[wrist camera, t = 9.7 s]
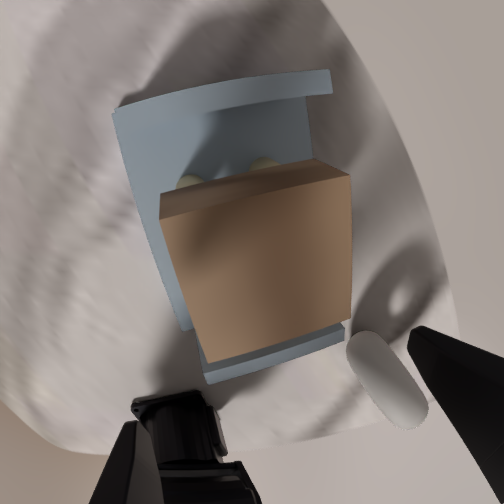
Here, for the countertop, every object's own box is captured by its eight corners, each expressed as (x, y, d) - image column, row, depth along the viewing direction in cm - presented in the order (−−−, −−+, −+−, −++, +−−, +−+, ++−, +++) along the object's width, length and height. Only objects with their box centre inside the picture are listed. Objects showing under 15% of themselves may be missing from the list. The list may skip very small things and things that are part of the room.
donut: (321, 329, 25) (383, 424, 16) (354, 302, 25) (427, 390, 16) (363, 373, 30) (411, 445, 21) (389, 353, 30) (442, 421, 21)
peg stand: (181, 322, 21) (190, 389, 16) (114, 113, 14) (87, 118, 9) (317, 282, 23) (359, 334, 17) (294, 75, 16) (351, 68, 11)
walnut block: (199, 319, 15) (208, 363, 13) (160, 193, 12) (158, 220, 9) (322, 283, 16) (350, 318, 14) (313, 158, 13) (350, 175, 10)
